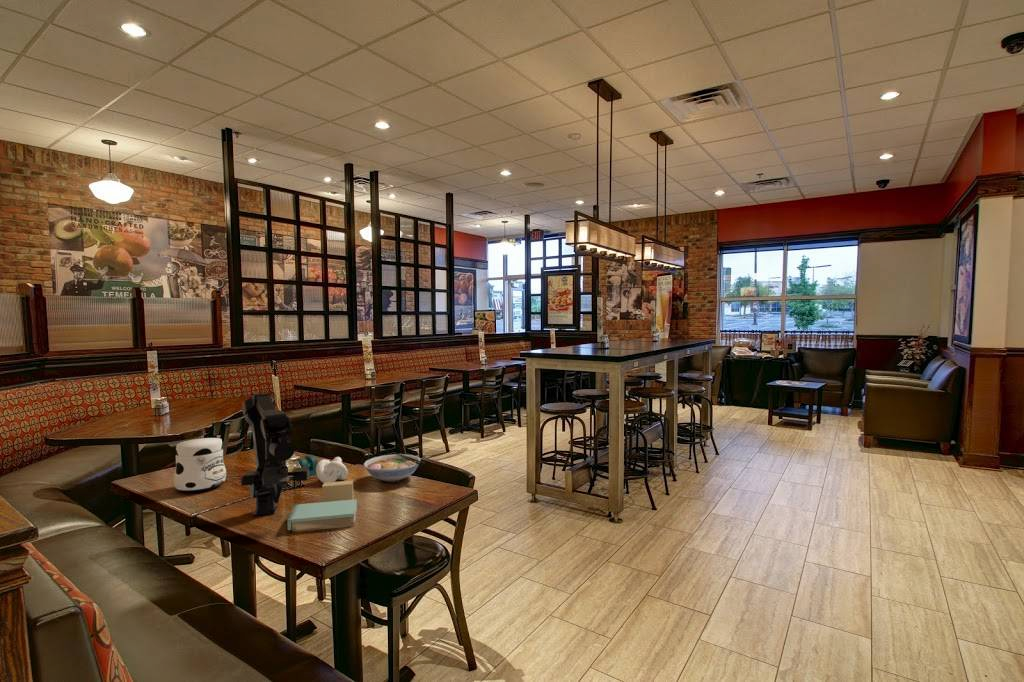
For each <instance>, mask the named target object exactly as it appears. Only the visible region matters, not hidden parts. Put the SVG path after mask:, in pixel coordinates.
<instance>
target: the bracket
mask: <svg viewBox="0 0 1024 682" xmlns="http://www.w3.org/2000/svg"><path fill="white" fill-rule="evenodd" d="M296 459H297V460H298V461H299V464H300V466H301V468H302V467H308V468H309V477H312V476H317V473H316V467H317V464H318V462H319V461H318V459H317V458H316V456H315V455H313V454H310V455H307V456H304V457H303V456H302V457H298V458H296ZM309 477H308V478H309Z"/></svg>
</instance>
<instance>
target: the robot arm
mask: <svg viewBox="0 0 1024 682" xmlns="http://www.w3.org/2000/svg"><path fill="white" fill-rule="evenodd" d="M241 411H242V415H244V419H245V421H246V422H247V424H249V425H250V427H251V431H252V440H253V447H254V448H253V449H254V455H255V457H254V458H255V464H256V469H255V470H251V471H246V472H245V473H244V474H243V475H242V476H241V479H240V483H241V484H240V485H241V486H243V487H244V486H245V487H246V486H249V495H250V496H251V498H252V499H255V511H254V512H253V514H252V516H253V517H257V516H268V515H274V514H275V513H276V512H277V510H278V508H279V507H278V506H279V505H276V504H279V502H280V499H281V496H282V492H283V489H284V487H285V485H288V483H290V481H291V479H293V480H294V481H295V482H303V481H308V478H309V468H308V467H302V468H296V469H295V471H292V472H288V467H287V466H286V465H287V460H290V459H291V458H292V457H293V456H294V454H295V451H296V449H295V446H294V444H293V443H292V442H290V441H289V440H288V437H293V432H294V428H293V425H292V422H291V419H290V417H289V415H287V414H286V412H285V411H283V410H279V409H278V408H277V407H276V406H275V405H274V403H273V401H272V399H271V395H270V394H269V393H264V392H263V393H255V394H253V395H252V396H251V397H250V398H248V399H246V400H244V401H243V404H242V408H241Z"/></svg>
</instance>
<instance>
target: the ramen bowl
mask: <svg viewBox="0 0 1024 682" xmlns="http://www.w3.org/2000/svg"><path fill="white" fill-rule="evenodd" d="M392 453H393V454H387V455H386V454H385V455H380V456H376V457H372V458H370V459H367V460H365V461H364V463H363V466H364V468H365V470H366V471H367V472H368V474H369V475H371V477H373V478H374V479H377V480H380V481H384V482H387V483H395V482H399V481H402V480H403V479H405V478H407V477H410V476H411V475H412V474H414V473H415V471H416V470H417V469H418V467H419V466H421V465H425V464H426V462H425V461H422V460H421V458H420V457H419V456H417V455H413V454H403V453H399V452H395V451H394V452H392Z"/></svg>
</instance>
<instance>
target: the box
mask: <svg viewBox="0 0 1024 682" xmlns="http://www.w3.org/2000/svg"><path fill="white" fill-rule="evenodd" d="M357 513H358V503H357V504H356V509H355V515H354V517H345V518H335V519H325V520H314V521H304V522H294V523H292V529H291V531H292V532H291V533H298V532H309V531H310V532H311V531H317V530H326V529H327V530H328V529H329V530H330V529H338V528H350V527H355V523H356V517H357Z"/></svg>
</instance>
